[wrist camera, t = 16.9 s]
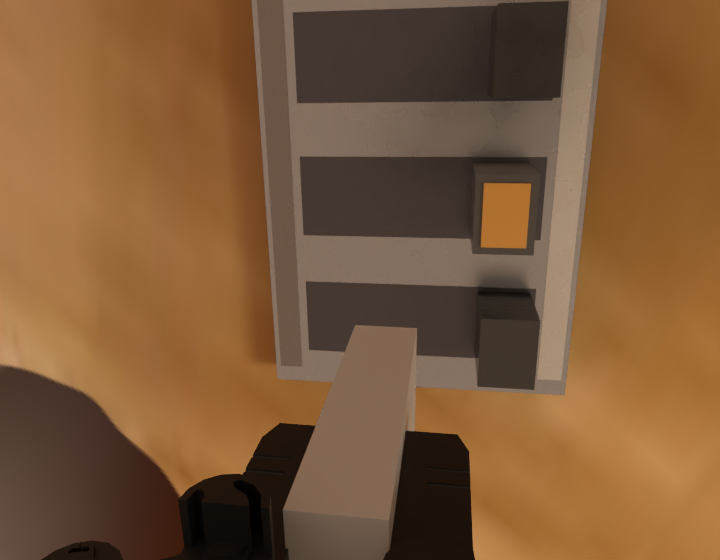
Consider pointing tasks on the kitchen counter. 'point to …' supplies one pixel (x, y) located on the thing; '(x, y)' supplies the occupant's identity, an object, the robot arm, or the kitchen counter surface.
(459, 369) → the breaker panel
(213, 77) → the kitchen counter surface
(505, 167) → the block
